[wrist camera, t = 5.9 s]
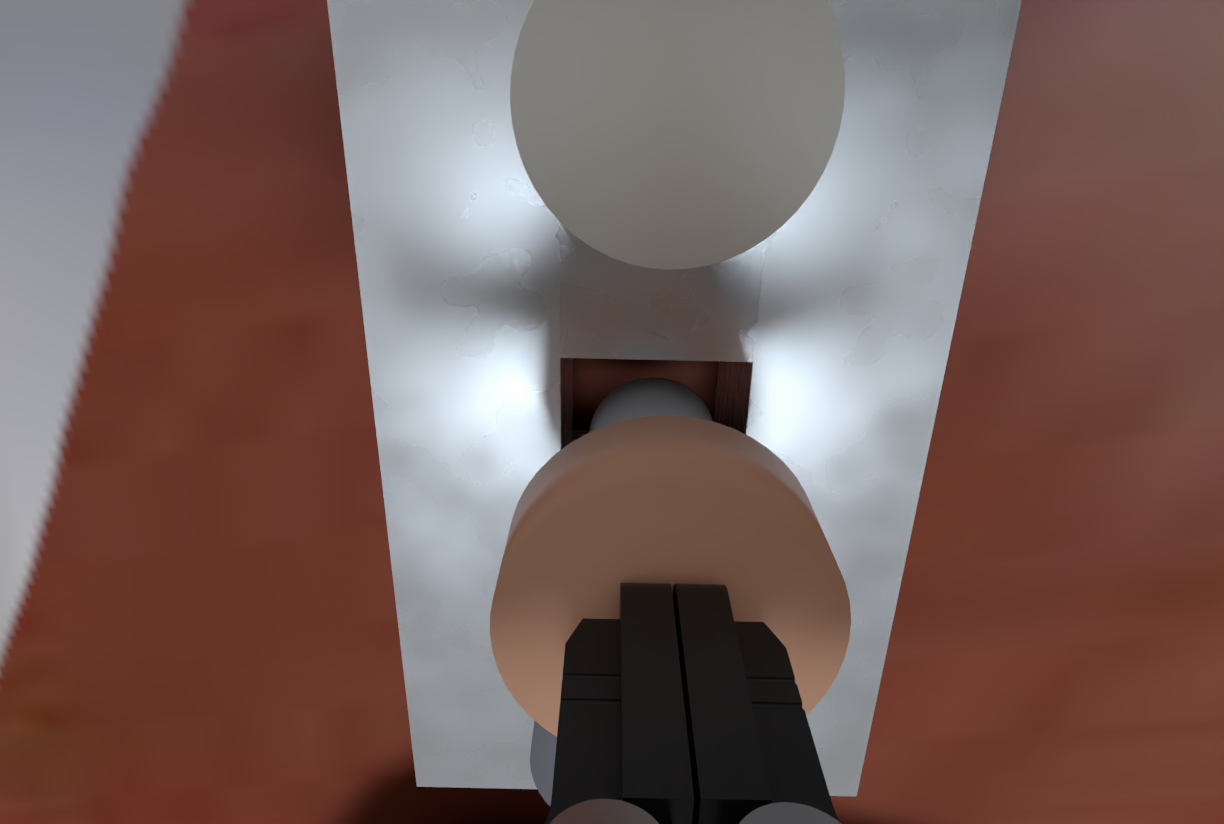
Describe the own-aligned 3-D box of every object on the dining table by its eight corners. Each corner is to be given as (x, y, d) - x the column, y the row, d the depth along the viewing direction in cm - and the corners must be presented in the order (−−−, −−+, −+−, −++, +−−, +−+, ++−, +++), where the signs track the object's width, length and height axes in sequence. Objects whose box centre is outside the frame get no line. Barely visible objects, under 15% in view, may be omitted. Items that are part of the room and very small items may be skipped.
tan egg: (780, 327, 16) (877, 482, 10) (756, 536, 18) (825, 771, 12) (533, 321, 16) (480, 473, 10) (537, 531, 18) (496, 764, 12)
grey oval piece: (779, -31, 17) (869, -89, 11) (756, 208, 19) (822, 273, 13) (545, -36, 17) (503, -97, 11) (548, 203, 19) (514, 266, 13)
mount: (933, -72, 17) (1047, -124, 13) (814, 666, 26) (856, 796, 21) (393, -83, 17) (311, -141, 13) (453, 658, 26) (416, 786, 21)
